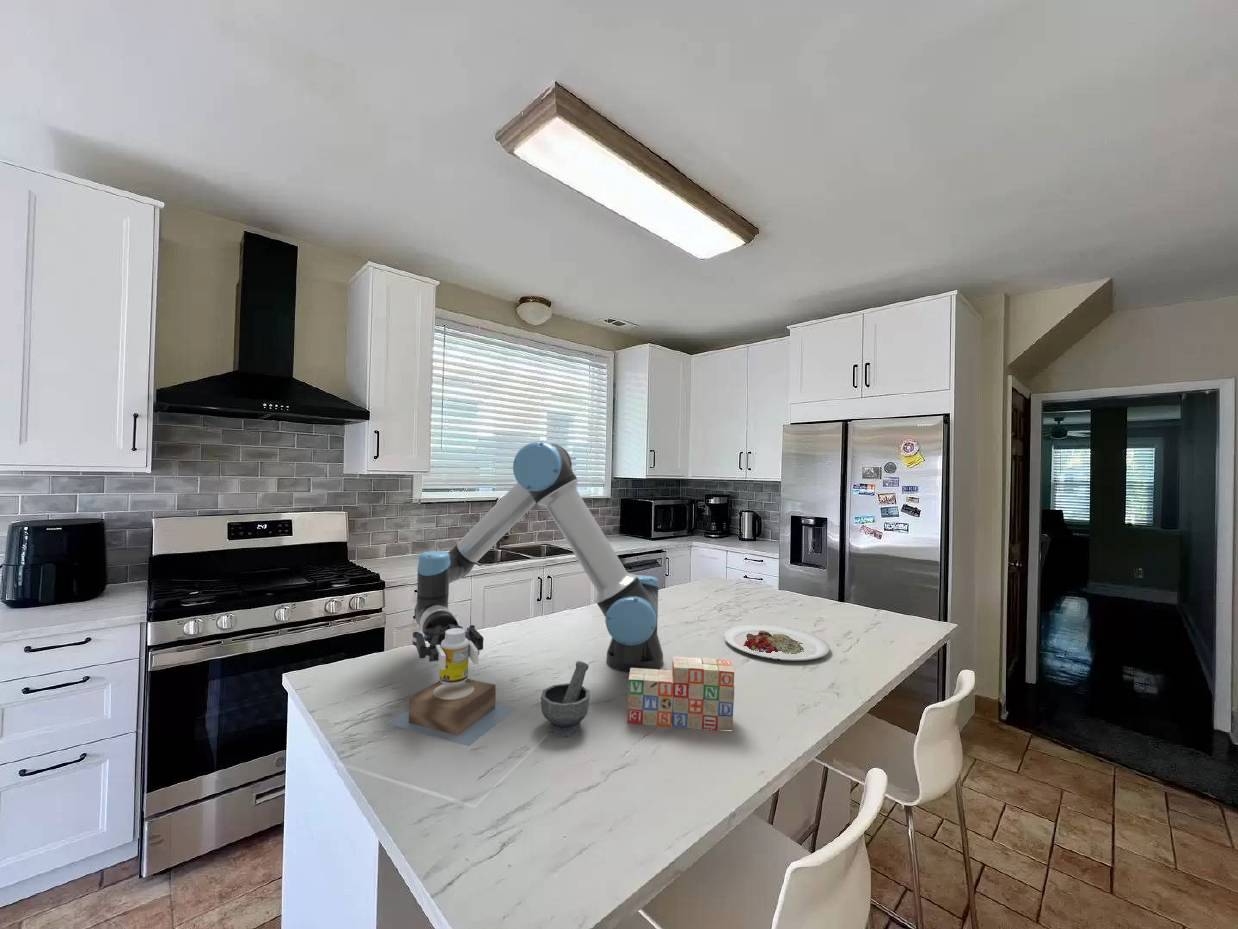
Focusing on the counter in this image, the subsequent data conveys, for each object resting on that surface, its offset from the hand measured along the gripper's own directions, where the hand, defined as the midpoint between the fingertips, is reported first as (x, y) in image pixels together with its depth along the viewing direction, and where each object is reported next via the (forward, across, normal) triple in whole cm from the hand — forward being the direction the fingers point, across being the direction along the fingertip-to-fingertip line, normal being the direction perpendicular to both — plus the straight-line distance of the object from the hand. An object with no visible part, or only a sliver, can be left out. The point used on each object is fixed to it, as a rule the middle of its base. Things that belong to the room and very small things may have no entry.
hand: (460, 660), depth 101 cm
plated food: (-8, -94, -14) cm, 95 cm away
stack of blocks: (+16, -41, -14) cm, 47 cm away
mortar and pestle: (+9, -20, -14) cm, 25 cm away
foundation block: (-5, 0, -13) cm, 14 cm away
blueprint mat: (-5, 0, -14) cm, 14 cm away
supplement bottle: (-5, 0, -6) cm, 8 cm away
